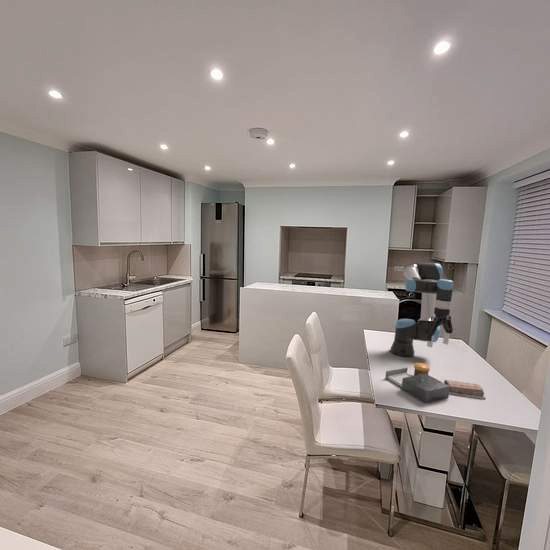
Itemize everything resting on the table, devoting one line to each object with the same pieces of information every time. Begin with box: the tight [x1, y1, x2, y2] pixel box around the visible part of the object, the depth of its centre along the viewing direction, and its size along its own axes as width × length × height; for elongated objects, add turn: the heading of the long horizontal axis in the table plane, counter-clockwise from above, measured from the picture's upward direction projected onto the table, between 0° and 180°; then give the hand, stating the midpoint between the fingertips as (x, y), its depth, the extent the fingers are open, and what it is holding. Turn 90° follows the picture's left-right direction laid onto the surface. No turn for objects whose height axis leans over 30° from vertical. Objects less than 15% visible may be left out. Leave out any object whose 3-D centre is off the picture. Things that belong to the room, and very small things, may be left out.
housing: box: [401, 374, 450, 404], centre depth 149 cm, size 14×16×6 cm
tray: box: [385, 367, 413, 388], centre depth 160 cm, size 14×15×4 cm
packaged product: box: [443, 379, 486, 400], centre depth 153 cm, size 18×5×10 cm
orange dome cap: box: [413, 362, 431, 373], centre depth 167 cm, size 8×8×2 cm
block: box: [413, 368, 430, 376], centre depth 167 cm, size 5×5×5 cm
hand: (437, 345), depth 165 cm, fingers open, 13 cm apart
